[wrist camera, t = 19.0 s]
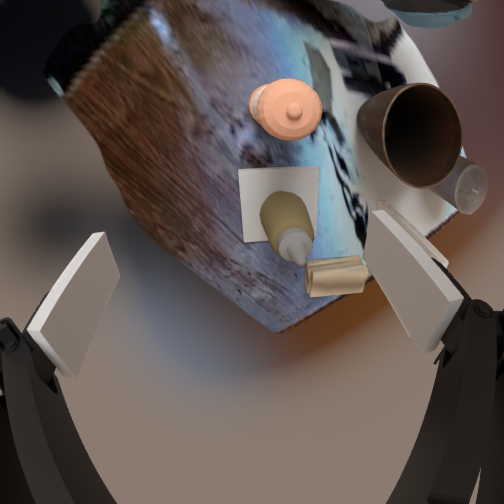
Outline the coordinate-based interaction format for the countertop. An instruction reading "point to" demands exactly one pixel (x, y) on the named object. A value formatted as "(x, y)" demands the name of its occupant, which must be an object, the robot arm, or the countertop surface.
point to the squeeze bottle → (288, 226)
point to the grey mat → (272, 180)
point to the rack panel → (415, 235)
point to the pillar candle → (464, 186)
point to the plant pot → (413, 132)
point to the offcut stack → (335, 276)
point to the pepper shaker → (286, 108)
